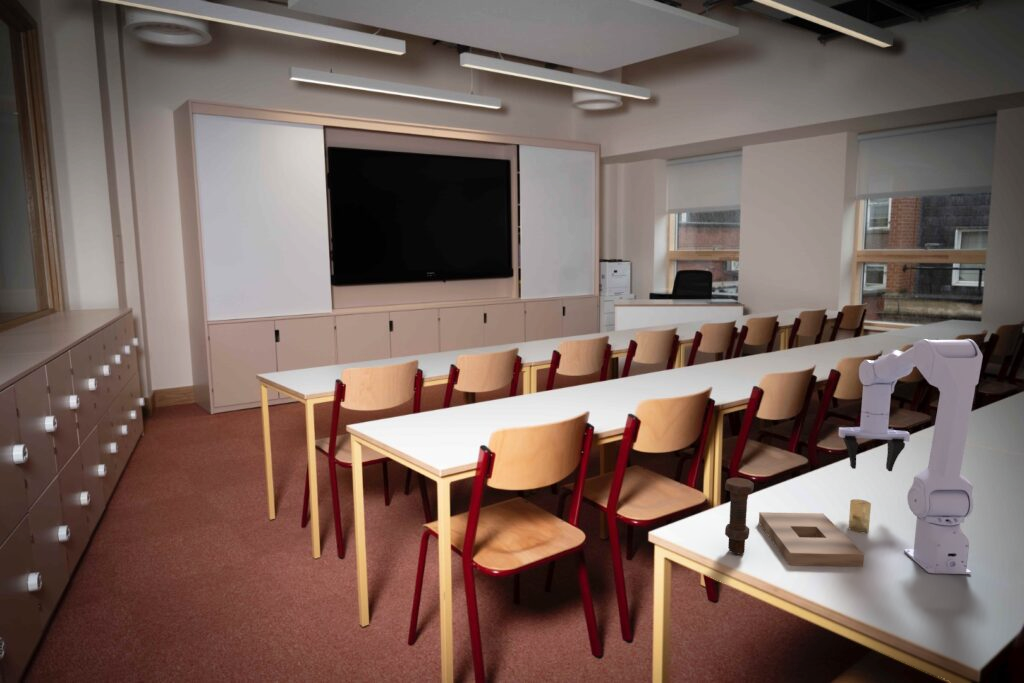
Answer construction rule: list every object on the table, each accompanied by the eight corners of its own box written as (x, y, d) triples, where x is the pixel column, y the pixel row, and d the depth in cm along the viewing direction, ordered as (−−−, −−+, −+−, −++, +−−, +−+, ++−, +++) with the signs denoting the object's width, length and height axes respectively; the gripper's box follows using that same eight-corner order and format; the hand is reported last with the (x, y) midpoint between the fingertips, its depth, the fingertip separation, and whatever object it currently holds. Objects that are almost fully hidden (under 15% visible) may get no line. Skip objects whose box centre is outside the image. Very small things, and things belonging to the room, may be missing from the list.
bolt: (745, 546, 142) (749, 477, 139) (755, 557, 137) (758, 486, 134) (718, 547, 141) (721, 477, 139) (726, 558, 136) (729, 486, 134)
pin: (872, 532, 148) (874, 506, 147) (853, 532, 148) (855, 506, 147) (863, 525, 152) (865, 499, 151) (845, 524, 152) (847, 499, 151)
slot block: (863, 566, 133) (864, 554, 132) (789, 565, 134) (790, 553, 133) (822, 524, 153) (823, 513, 152) (758, 522, 153) (759, 512, 153)
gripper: (904, 409, 159) (900, 465, 161) (837, 406, 163) (833, 460, 165) (914, 417, 152) (909, 475, 154) (843, 413, 156) (839, 470, 158)
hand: (870, 468), depth 159 cm, fingers open, 7 cm apart
